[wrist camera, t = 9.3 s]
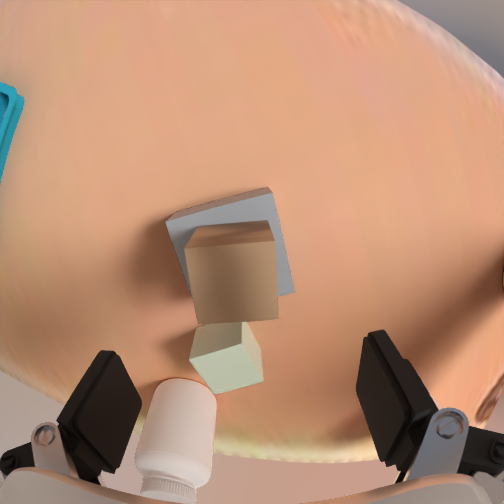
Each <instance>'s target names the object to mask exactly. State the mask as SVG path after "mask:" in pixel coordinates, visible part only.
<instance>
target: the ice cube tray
mask: <svg viewBox="0 0 504 504" xmlns="http://www.w3.org/2000/svg"><path fill="white" fill-rule="evenodd" d="M8 103H9V104H8ZM7 105H8V108H7ZM23 106H24V98H23V97H22V96H20V95H18V94H17V91H16V88H14V87H11V86H9V85H7V84H4V83H2V82H0V126H1V128H0V183H1V178H2V174H3V170H4V166H5V162H6V158H7V155H8V151H9V148H10V144H11V141H12V138H13V135H14V132H15V129H16V126H17V123H18V121H19V118H20V115H21V113H22V110H23ZM6 108H7V110H6ZM5 111H6V113H5ZM4 114H5V116H4ZM3 116H4V117H3Z"/></svg>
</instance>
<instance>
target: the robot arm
mask: <svg viewBox="0 0 504 504" xmlns="http://www.w3.org/2000/svg"><path fill="white" fill-rule="evenodd" d="M503 285H504V274H503ZM356 392H357V396H358V399H359V401H360V404H361V407H362V410H363V412H364V415H365V418H366V421H367V424H368V427H369V430H370V433H371V435H372V438H373V441H374V444H375V447H376V450H377V453H378V457H379V459H380V461H381V462H383V461H385V464H386V467H389V466H392V465H396V467H397V470H398V471H399V473H398V475H397V477H396V479H395V481H394V483H393V484H392V485H389V486H385V487H381V488H377V489H374V490H370V491H366V492H362V493H358V494H354V495H349V496H345V497H340V498H334V499H329V500H323V501H316V502H310V503H302V504H504V434H501V433H496V432H492V431H488V430H484V429H480V428H476V427H472V426H469V421H468V418H467V416H466V415H465V414H464V413H463V412H462V411H460V410H458V409H456V408H443V409H441V410H439V409H438V408H437V406H436V404H435V402H434V401H433V399H432V397H431V396H430V394H429V392H428V391H427V389H426V387H425V386H424V384H423V382H422V381H421V379H420V377H419V376H418V374H417V372H416V371H415V369H414V368H413V366H412V364H411V363H410V362H409V360H407V359H403V358H402V356H401V355H400V353H399V352H398V350H397V348H396V347H395V345H394V344H393V342H392V341H391V339H390V338H389V336H388V334H387V333H386V331H385V330H378V331H373V332H369V333H368V336H367V337H364V339H363V346H362V353H361V360H360V366H359V372H358V378H357V384H356ZM141 406H142V400H141V398H140V396H139V394H138V392H137V390H136V388H135V386H134V385H133V383H132V381H131V379H130V377H129V375H128V373H127V371H126V369H125V367H124V364H123V362H122V360H121V358H120V356H119V355H117V354H116V353H115V352H114V351H106V350H101V351H100V352H99V353H98V354H97V356H96V357H95V359H94V360H93V362H92V363H91V365H90V367H89V368H88V370H87V371H86V373H85V374H84V376H83V377H82V379H81V380H80V382H79V384H78V385H77V387H76V388H75V390H74V392H73V393H72V395H71V396H70V398H69V400H68V401H67V403H66V405H65V406H64V408H63V410H62V412H61V413H60V415H59V417H58V418H57V420H56V421H57V422H58V423H59V425H58V426H56V425H55V424H53V423H51V422H45V423H42V424H40V425H38V426H37V427H36V428H35V429H34V430H33V432H32V435H31V442H29V443H27V444H24V445H22V446H19V447H16V448H14V449H11V450H8V451H7V452H5V453H4V454H3V455H2V457H1V459H0V504H184V503H176V502H169V501H163V500H157V499H152V498H147V497H142V496H137V495H132V494H129V493H125V492H121V491H117V490H113V489H110V488H107V487H106V485H105V483H104V481H103V479H102V476H101V474H100V473H101V471H102V470H103V471H105V472H109V473H112V474H114V473H115V470H116V468H119V467H120V464H121V461H122V458H123V456H124V453H125V450H126V447H127V444H128V442H129V439H130V436H131V433H132V431H133V428H134V425H135V423H136V420H137V417H138V415H139V412H140V409H141Z"/></svg>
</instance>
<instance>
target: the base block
mask: <svg viewBox="0 0 504 504" xmlns="http://www.w3.org/2000/svg"><path fill="white" fill-rule="evenodd" d="M262 220H268V222H269V225H270V228H271V231H272V233H273V236H274V239H275V247H276V268H277V291H278V296H282V295H286V294H290V293H294V292H295V290H294V285H293V280H292V275H291V271H290V266H289V262H288V257H287V253H286V248H285V244H284V239H283V235H282V231H281V226H280V222H279V218H278V214H277V209H276V205H275V201H274V197H273V193H272V191H271V190H270V189H269V187H266V188H262V189H258V190H254V191H250V192H246V193H242V194H239V195H235V196H231V197H227V198H223V199H220V200H216V201H213V202H209V203H205V204H202V205H198V206H195V207H191V208H188V209H185V210H181V211H178V212H176V213H175V214H174V215H172V216H171V217H170V218H169V219H168V220H167V221H166V222H165V223H166V226H167V229H168V232H169V235H170V238H171V241H172V244H173V246H174V249H175V252H176V255H177V258H178V261H179V263H180V266H181V269H182V272H183V274H184V277H185V280H186V282H187V285H188V288H189V290H190V293H191V296H192V291H191V286H190V280H189V275H188V269H187V263H186V257H185V251H184V248H185V246H186V245H187V243H188V241H189V240H190V238H191V237H192V235H193V233H194V232H195V230H196V229H197V227H198V226H203V225H214V224H225V223H237V222H249V221H262ZM192 298H193V296H192Z"/></svg>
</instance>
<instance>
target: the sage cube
mask: <svg viewBox="0 0 504 504" xmlns="http://www.w3.org/2000/svg"><path fill="white" fill-rule="evenodd" d="M189 361H190V362H191V363H192V365H193V366H194V368H195V369H196V370H197V372H198V373H199V374H200V376H201V377H202V378H203V380H204V381H205V382H206V384H207V385H208V386H209V388H210V389H211V390H212V392H213V393H214V394H219V393H223V392H227V391H231V390H235V389H238V388H242V387H246V386H249V385H253V384H256V383H260V382H263V381H264V380H263V368H262V356H261V348H260V346H259V344H258V342H257V340H256V339H255V337H254V335H253V333H252V331H251V329H250V327H249V325H248V323H247V322H233V323H216V324H207V325H204V326H201V327H198V328H196V331H195V335H194V339H193V344H192V348H191V352H190V356H189Z"/></svg>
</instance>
